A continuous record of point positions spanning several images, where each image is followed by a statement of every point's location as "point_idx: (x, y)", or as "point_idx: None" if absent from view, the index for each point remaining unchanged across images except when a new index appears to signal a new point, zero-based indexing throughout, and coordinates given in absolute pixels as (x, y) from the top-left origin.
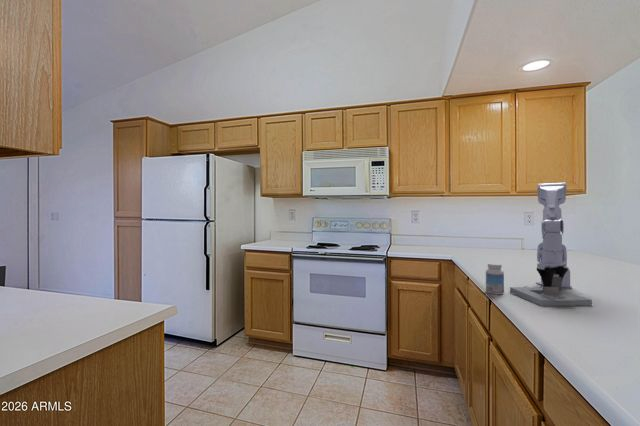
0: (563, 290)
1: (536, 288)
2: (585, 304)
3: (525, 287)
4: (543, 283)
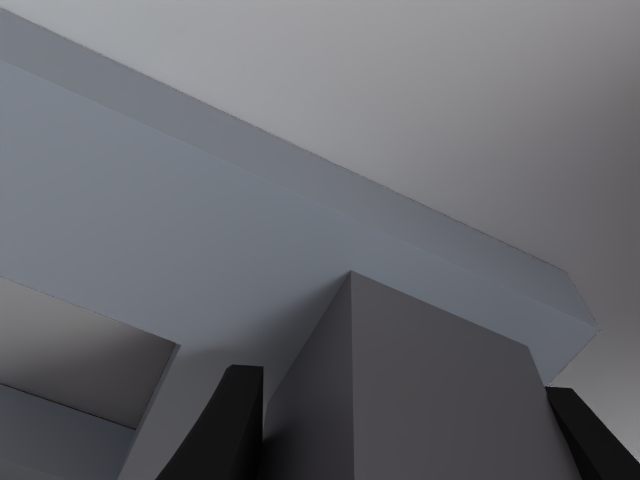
0: None
1: (183, 238)
2: None
3: (26, 90)
4: (203, 415)
